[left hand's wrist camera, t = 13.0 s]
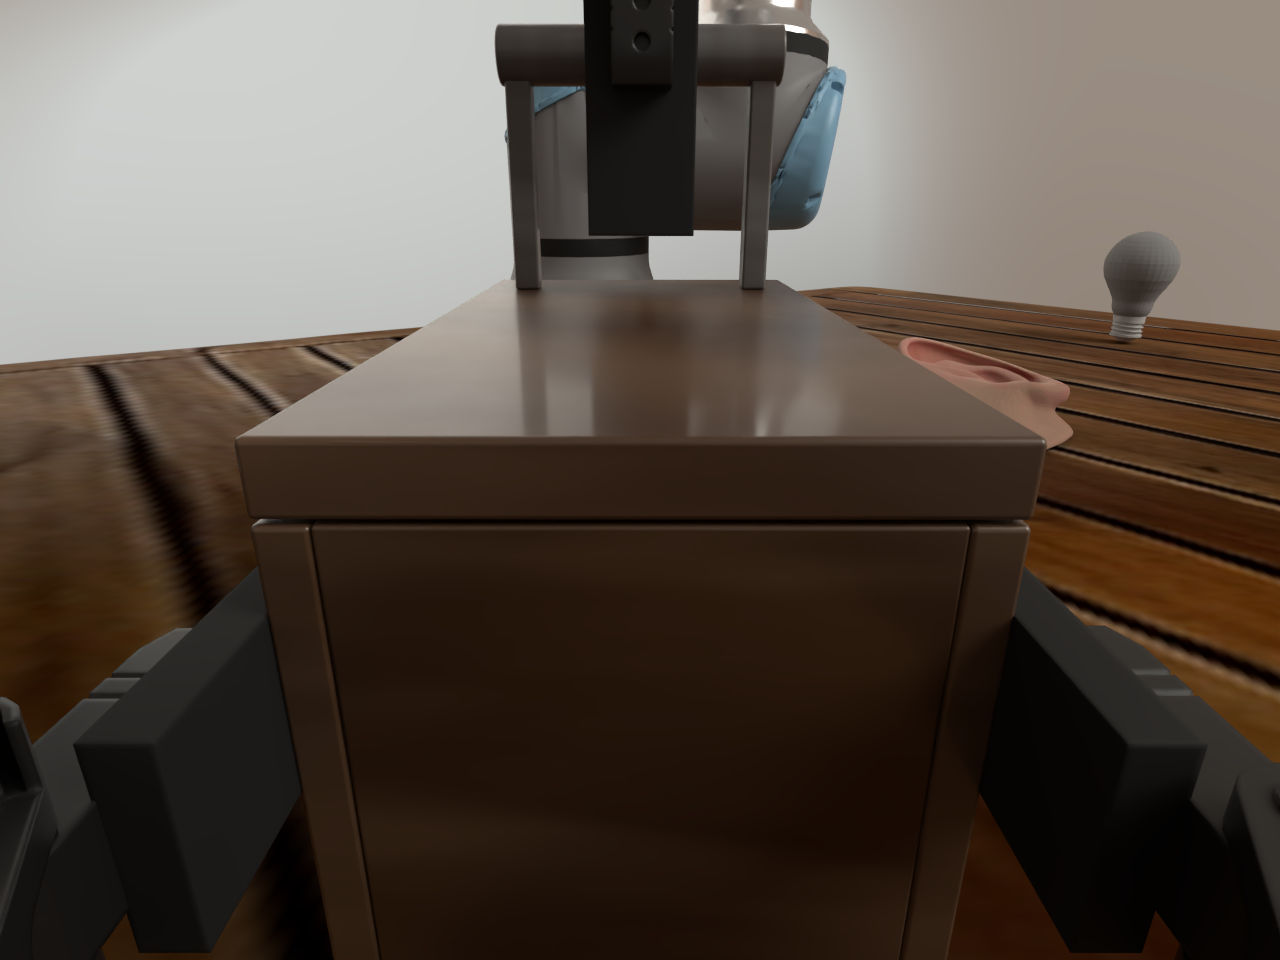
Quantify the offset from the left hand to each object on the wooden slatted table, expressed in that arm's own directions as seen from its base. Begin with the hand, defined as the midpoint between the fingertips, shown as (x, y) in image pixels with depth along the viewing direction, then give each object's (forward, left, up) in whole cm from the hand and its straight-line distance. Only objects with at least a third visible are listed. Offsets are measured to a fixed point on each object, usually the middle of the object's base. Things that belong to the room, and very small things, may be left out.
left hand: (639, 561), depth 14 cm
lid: (-4, +3, +3) cm, 5 cm away
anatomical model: (-14, +37, -7) cm, 40 cm away
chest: (-3, +3, -7) cm, 8 cm away
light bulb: (-19, +75, -7) cm, 78 cm away
